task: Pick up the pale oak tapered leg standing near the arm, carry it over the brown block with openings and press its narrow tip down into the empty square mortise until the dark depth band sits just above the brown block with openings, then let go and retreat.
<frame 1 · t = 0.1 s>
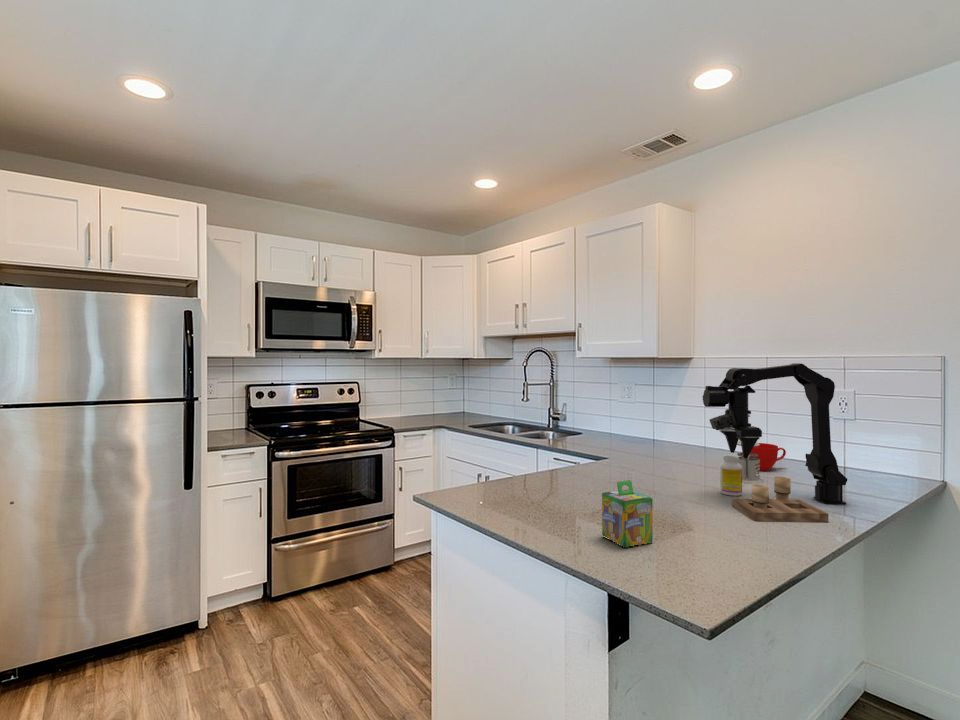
hand: (738, 455, 161), 15 cm above the counter, tool pointing down, fingers open, 9 cm apart
chalk box: (627, 541, 126), on the counter
supplement bottle: (731, 494, 169), on the counter
ceramic cup: (764, 469, 206), on the counter
oak leg: (782, 503, 157), on the counter
french press: (747, 481, 187), on the counter
brown block with openings: (777, 513, 146), on the counter
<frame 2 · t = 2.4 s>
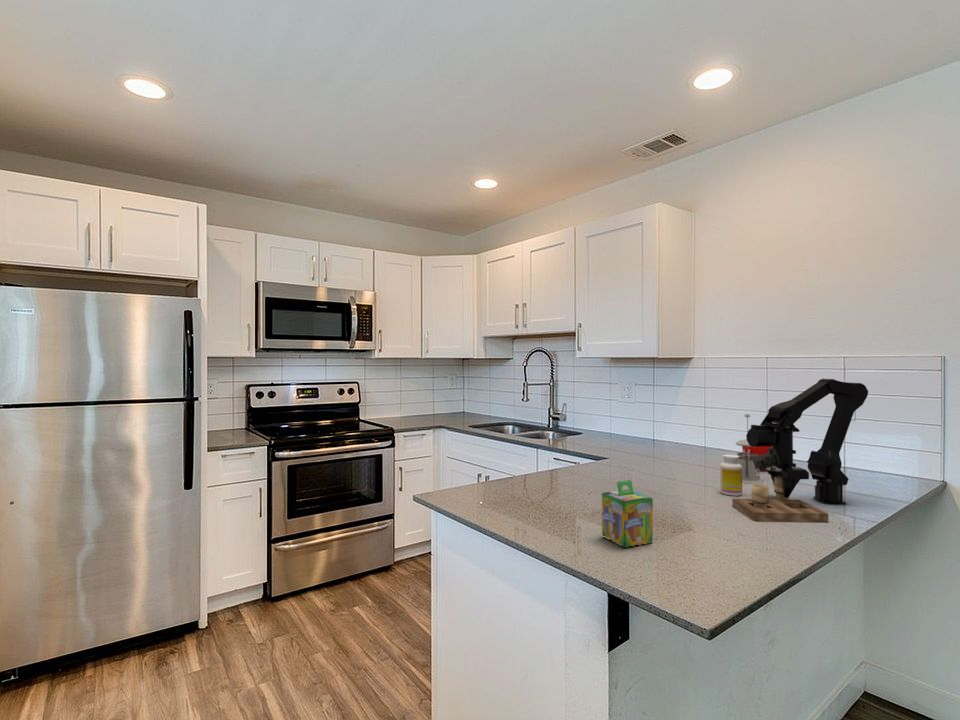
hand: (782, 495, 157), 3 cm above the counter, tool pointing down, fingers closed on oak leg, 4 cm apart
oak leg: (782, 503, 157), on the counter, touching gripper
everything else where it was.
when the fingers open (3 cm above the counter, at t = 5.8 s): oak leg stays where it is, resting in brown block with openings.
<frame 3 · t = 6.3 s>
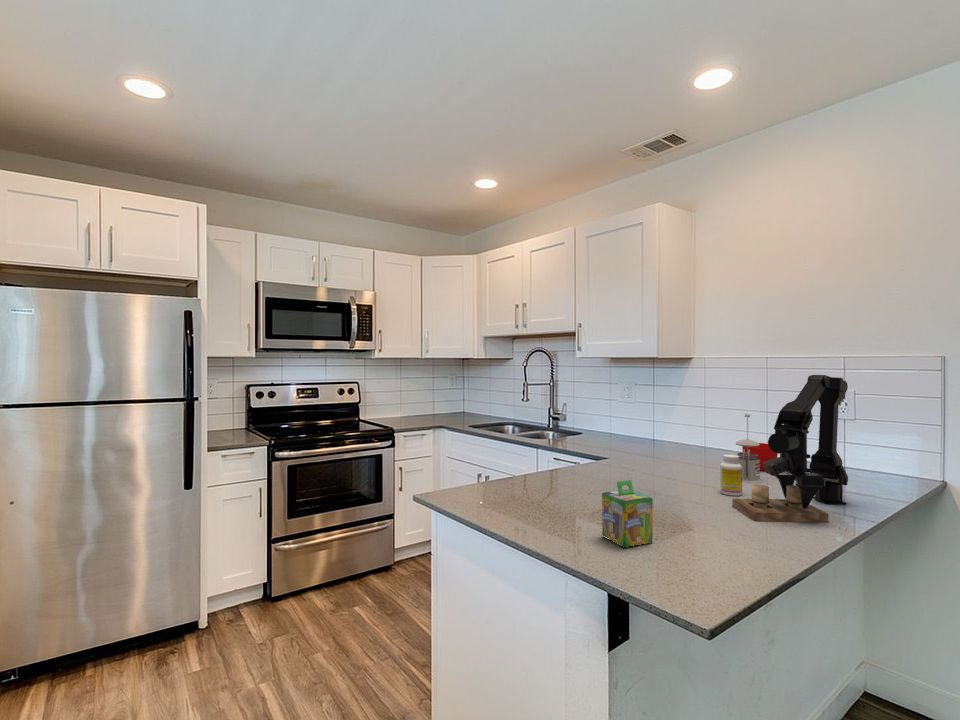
hand: (795, 502, 146), 3 cm above the counter, tool pointing down, fingers open, 9 cm apart
oak leg: (795, 514, 146), resting in brown block with openings
everything else where it was.
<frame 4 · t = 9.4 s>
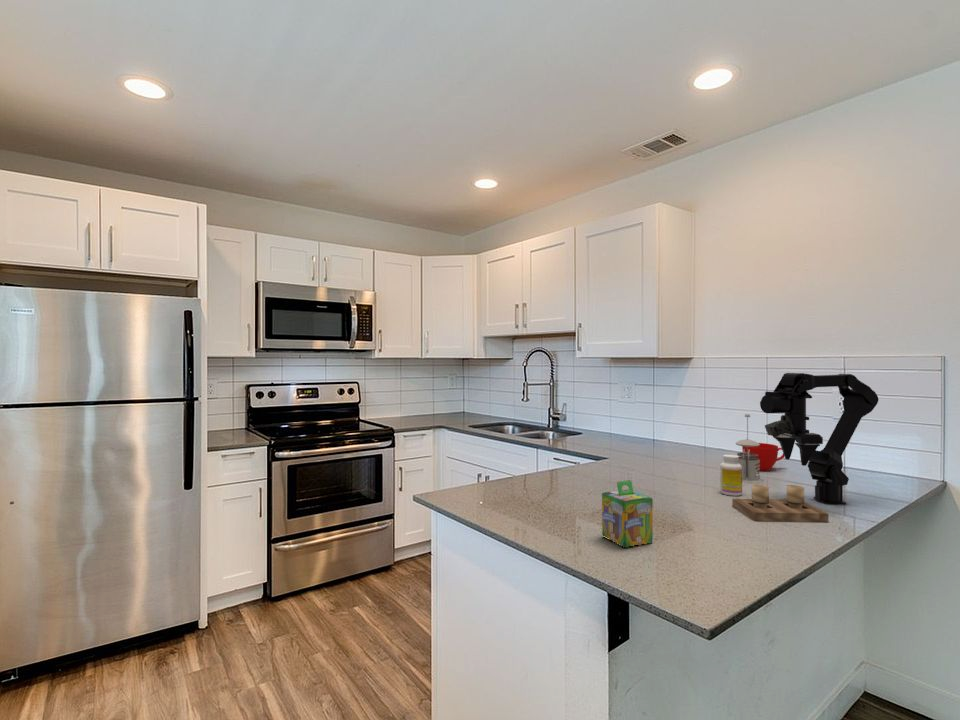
hand: (795, 462, 157), 13 cm above the counter, tool pointing down, fingers open, 9 cm apart
nothing on the counter moved.
at the end: oak leg 0.1 cm from the target spot on the brown block with openings, point 0.0 cm above the brown block with openings's base; oak leg tilted 0°; the gripper is holding nothing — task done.
